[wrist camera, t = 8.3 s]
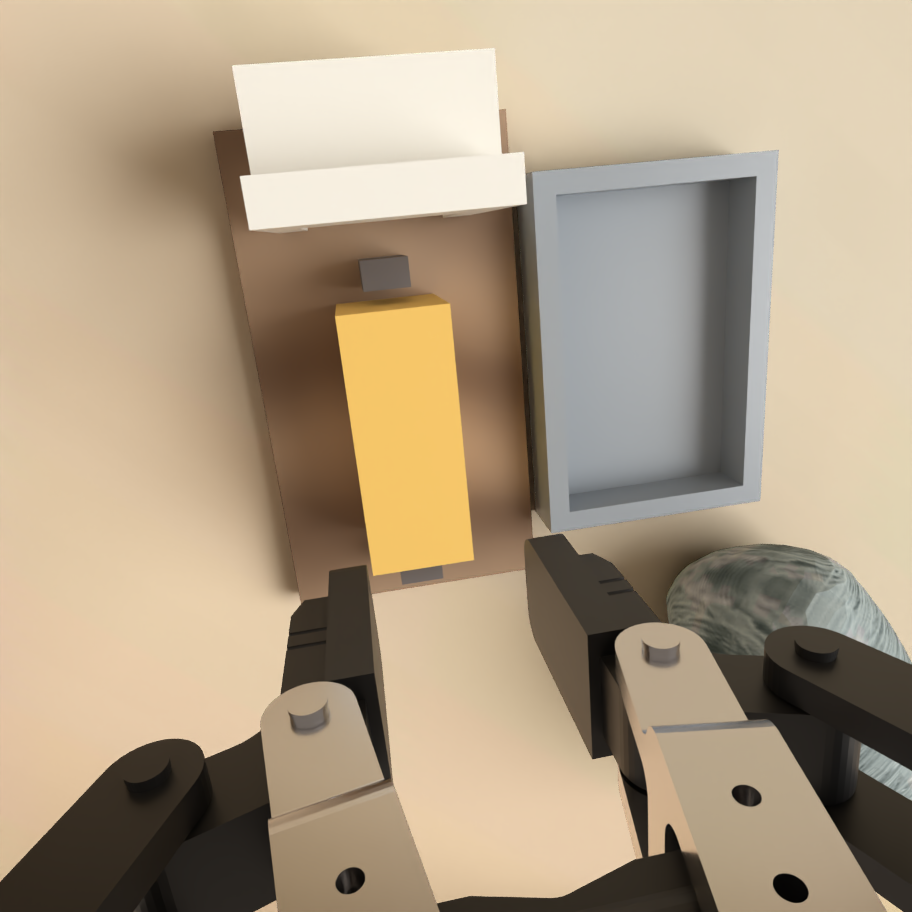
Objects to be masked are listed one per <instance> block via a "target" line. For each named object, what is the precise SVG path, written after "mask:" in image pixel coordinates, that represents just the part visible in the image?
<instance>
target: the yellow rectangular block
mask: <svg viewBox="0 0 912 912" xmlns="http://www.w3.org/2000/svg"><path fill="white" fill-rule="evenodd" d="M335 320H336V326H337V333H338V340H339V347H340V354H341V360H342V367H343V374H344V381H345V388H346V394H347V401H348V408H349V415H350V422H351V428H352V435H353V442H354V449H355V456H356V462H357V469H358V476H359V483H360V490H361V496H362V503H363V510H364V517H365V524H366V530H367V537H368V544H369V551H370V558H371V564H372V571H373V576H376V575H383V574H389V573H395V572H402V571H408V570H414V569H421V568H427V567H433V566H440V565H446V564H452V563H459V562H465V561H471V560H474V554H473V543H472V532H471V522H470V511H469V500H468V490H467V479H466V468H465V458H464V447H463V436H462V426H461V415H460V404H459V394H458V383H457V372H456V362H455V351H454V340H453V330H452V319H451V308H450V303H448V302H447V301H445V300H443V299H442V298H440V297H438V296H436V295H435V294H425V295H416V296H407V297H398V298H389V299H379V300H370V301H361V302H352V303H343V304H336V311H335Z"/></svg>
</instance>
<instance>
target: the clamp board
mask: <svg viewBox="0 0 912 912" xmlns="http://www.w3.org/2000/svg"><path fill="white" fill-rule="evenodd" d="M499 120H500V135H501V150H502V154H506V153H508V137H507V121H506V109H502V110H499ZM213 135H214V140H215V146H216V151H217V156H218V162H219V167H220V172H221V178H222V183H223V188H224V194H225V199H226V204H227V210H228V215H229V220H230V226H231V231H232V236H233V242H234V247H235V252H236V258H237V263H238V269H239V274H240V279H241V285H242V290H243V295H244V301H245V306H246V311H247V317H248V322H249V327H250V333H251V338H252V343H253V349H254V354H255V359H256V365H257V370H258V375H259V381H260V386H261V391H262V397H263V402H264V407H265V413H266V418H267V423H268V429H269V434H270V439H271V445H272V450H273V455H274V461H275V466H276V471H277V477H278V482H279V488H280V493H281V498H282V504H283V509H284V514H285V520H286V525H287V530H288V536H289V541H290V546H291V552H292V557H293V562H294V568H295V573H296V578H297V584H298V589H299V594H300V600H301V604H302V603H303V601H304V600H309V599H315V598H321V597H327V596H328V585H329V571H330V570H336V569H342V568H348V567H354V566H361V565H367V568H368V574H369V580H370V587H371V593H372V594H375V593H381V592H387V591H394V590H400V589H406V588H412V587H418V586H425V585H431V584H437V583H443V582H449V581H456V580H462V579H468V578H474V577H480V576H487V575H493V574H499V573H505V572H511V571H518V570H524V569H525V557H524V543H525V540H526V539H532V538H533V535H532V519H531V503H530V488H529V472H528V456H527V440H526V424H525V408H524V392H523V376H522V360H521V344H520V328H519V312H518V296H517V280H516V264H515V248H514V232H513V216H512V207H509V208H504V209H499V210H494V211H489V212H484V213H479V214H473V215H466V216H456V217H445V218H443V215H437V216H427V217H416V218H406V219H395V220H385V221H374V222H364V223H353V224H343V225H332V226H322V227H311V228H308V231H299V232H288V233H270V232H261V231H251V230H249V225H248V220H247V214H246V209H245V203H244V198H243V192H242V186H241V181H240V176H246V175H251V173H250V167H249V161H248V155H247V150H246V144H245V138H244V133H243V129H242V130H229V131H216V132H213ZM425 294H435V295H436V296H438V297H440V298H442V299H443V300H445V301H447V302H448V303H450V308H451V319H452V330H453V340H454V351H455V362H456V372H457V383H458V394H459V404H460V415H461V426H462V436H463V447H464V458H465V468H466V479H467V490H468V500H469V511H470V522H471V532H472V543H473V554H474V560H471V561H465V562H459V563H452V564H446V565H440V566H433V567H427V568H421V569H414V570H408V571H402V572H395V573H389V574H383V575H376V576H373V571H372V564H371V558H370V551H369V544H368V537H367V530H366V524H365V517H364V510H363V503H362V496H361V490H360V483H359V476H358V469H357V462H356V456H355V449H354V442H353V435H352V428H351V422H350V415H349V408H348V401H347V394H346V388H345V381H344V374H343V367H342V360H341V354H340V347H339V340H338V333H337V326H336V320H335V311H336V304H343V303H352V302H361V301H370V300H379V299H389V298H398V297H407V296H416V295H425Z"/></svg>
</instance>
